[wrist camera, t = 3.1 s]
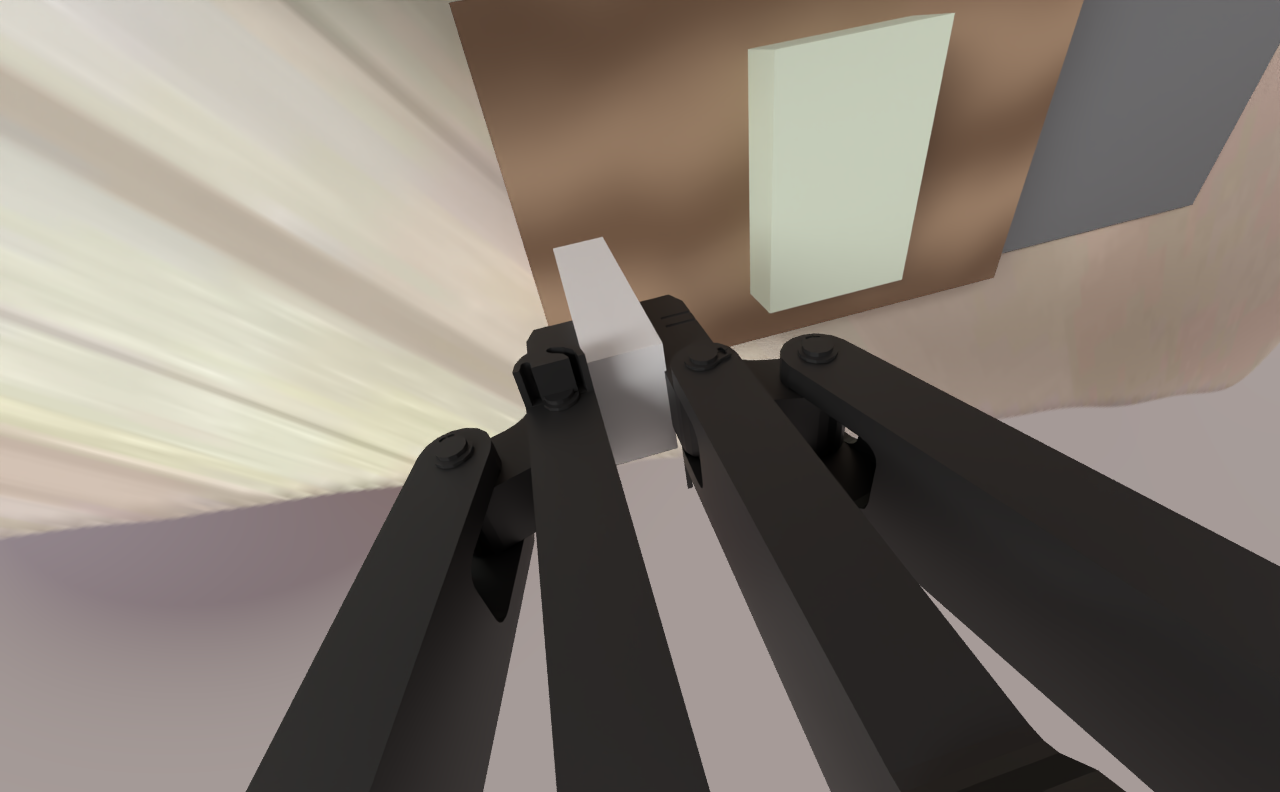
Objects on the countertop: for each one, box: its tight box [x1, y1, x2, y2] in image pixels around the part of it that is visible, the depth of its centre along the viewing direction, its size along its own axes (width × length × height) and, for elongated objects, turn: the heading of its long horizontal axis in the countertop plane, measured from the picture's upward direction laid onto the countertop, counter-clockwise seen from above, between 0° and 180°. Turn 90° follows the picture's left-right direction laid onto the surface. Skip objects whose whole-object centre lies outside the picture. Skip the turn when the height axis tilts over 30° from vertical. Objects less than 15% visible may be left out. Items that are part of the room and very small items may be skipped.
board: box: [449, 0, 1084, 346], centre depth 21 cm, size 14×22×4 cm, turn 99°
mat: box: [1002, 0, 1280, 253], centre depth 24 cm, size 16×16×1 cm
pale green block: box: [748, 13, 955, 313], centre depth 18 cm, size 9×6×2 cm, turn 9°
